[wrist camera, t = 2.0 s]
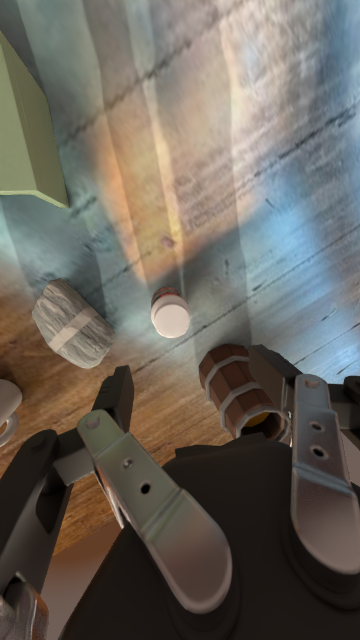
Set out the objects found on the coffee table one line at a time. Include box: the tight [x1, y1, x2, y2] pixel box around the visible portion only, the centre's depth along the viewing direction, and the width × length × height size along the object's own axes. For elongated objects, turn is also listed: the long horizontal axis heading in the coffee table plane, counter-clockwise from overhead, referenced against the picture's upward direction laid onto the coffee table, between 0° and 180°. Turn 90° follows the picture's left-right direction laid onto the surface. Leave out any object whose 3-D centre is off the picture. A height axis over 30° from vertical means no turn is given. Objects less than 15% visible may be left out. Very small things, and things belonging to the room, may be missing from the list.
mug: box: [199, 344, 290, 442], centre depth 34 cm, size 16×12×15 cm
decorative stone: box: [32, 278, 115, 368], centre depth 30 cm, size 13×10×6 cm
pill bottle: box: [151, 287, 190, 338], centre depth 29 cm, size 6×6×10 cm
